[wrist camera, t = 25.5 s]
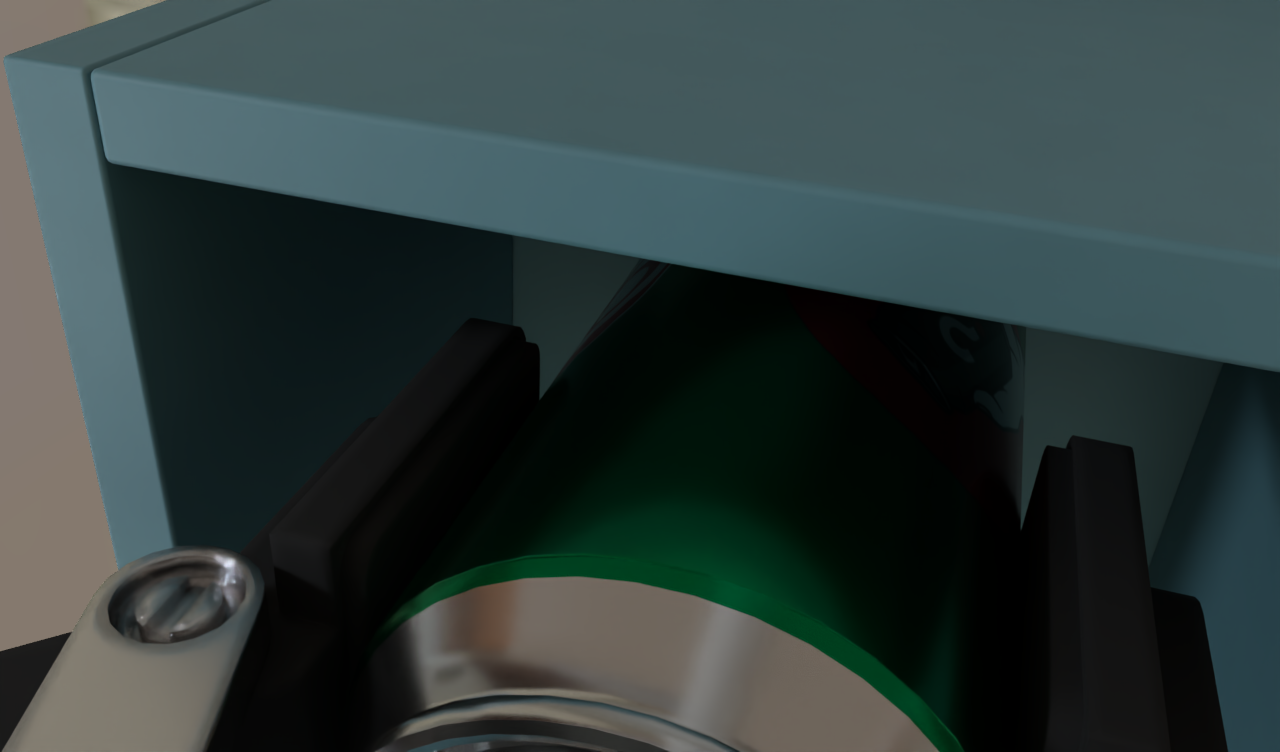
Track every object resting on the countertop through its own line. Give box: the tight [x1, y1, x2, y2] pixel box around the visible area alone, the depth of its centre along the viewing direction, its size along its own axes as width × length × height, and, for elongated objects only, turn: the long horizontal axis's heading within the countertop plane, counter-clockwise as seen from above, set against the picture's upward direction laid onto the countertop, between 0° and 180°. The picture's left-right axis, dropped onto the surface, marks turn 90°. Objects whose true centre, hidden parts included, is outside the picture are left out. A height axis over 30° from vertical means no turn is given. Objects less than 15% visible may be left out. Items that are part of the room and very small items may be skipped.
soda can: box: [346, 258, 1026, 752], centre depth 13 cm, size 5×5×12 cm
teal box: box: [4, 0, 1280, 752], centre depth 16 cm, size 16×13×10 cm
